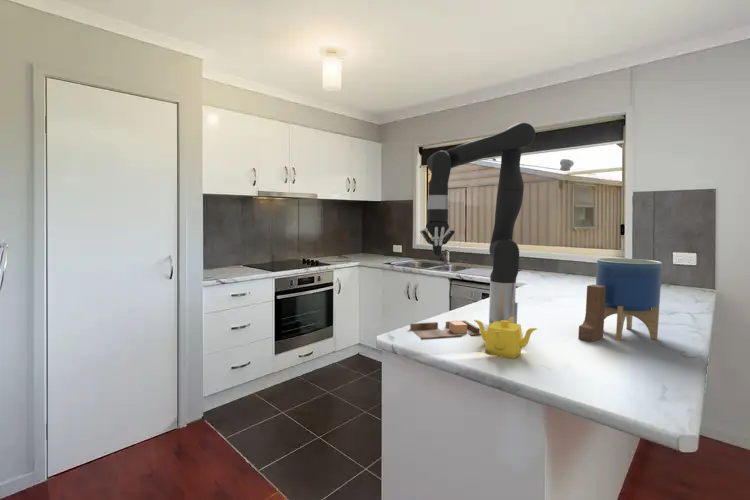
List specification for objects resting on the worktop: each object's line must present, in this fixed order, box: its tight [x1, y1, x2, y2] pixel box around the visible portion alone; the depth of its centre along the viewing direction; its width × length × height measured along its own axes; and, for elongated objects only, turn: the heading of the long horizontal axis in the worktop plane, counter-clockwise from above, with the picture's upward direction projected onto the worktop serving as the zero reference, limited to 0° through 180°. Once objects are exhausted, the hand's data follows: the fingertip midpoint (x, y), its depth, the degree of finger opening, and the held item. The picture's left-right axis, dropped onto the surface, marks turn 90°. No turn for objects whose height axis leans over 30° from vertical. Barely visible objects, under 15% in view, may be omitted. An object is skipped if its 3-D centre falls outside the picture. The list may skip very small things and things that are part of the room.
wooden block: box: [578, 284, 606, 343], centre depth 133 cm, size 9×4×18 cm, turn 127°
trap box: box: [409, 319, 481, 340], centre depth 134 cm, size 21×12×4 cm, turn 103°
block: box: [448, 320, 467, 334], centre depth 135 cm, size 4×4×3 cm
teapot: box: [473, 317, 538, 360], centre depth 119 cm, size 15×14×10 cm
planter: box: [595, 257, 663, 341], centre depth 138 cm, size 19×19×26 cm
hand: (436, 256), depth 142 cm, fingers closed
